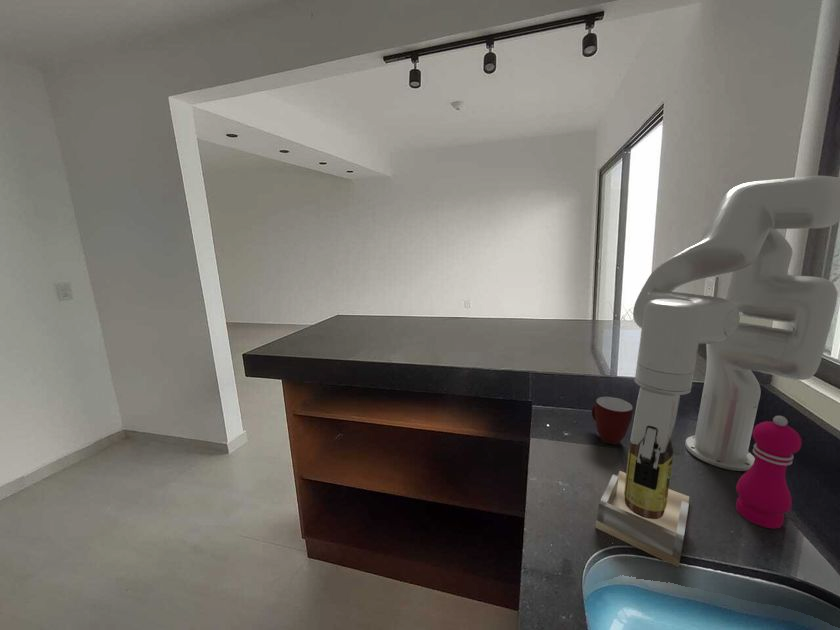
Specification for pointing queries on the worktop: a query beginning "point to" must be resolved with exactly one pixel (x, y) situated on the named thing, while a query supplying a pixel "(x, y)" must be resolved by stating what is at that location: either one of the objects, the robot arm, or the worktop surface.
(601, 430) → the mug
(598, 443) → the worktop surface
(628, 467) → the sauce bottle
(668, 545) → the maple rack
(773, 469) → the pepper mill
